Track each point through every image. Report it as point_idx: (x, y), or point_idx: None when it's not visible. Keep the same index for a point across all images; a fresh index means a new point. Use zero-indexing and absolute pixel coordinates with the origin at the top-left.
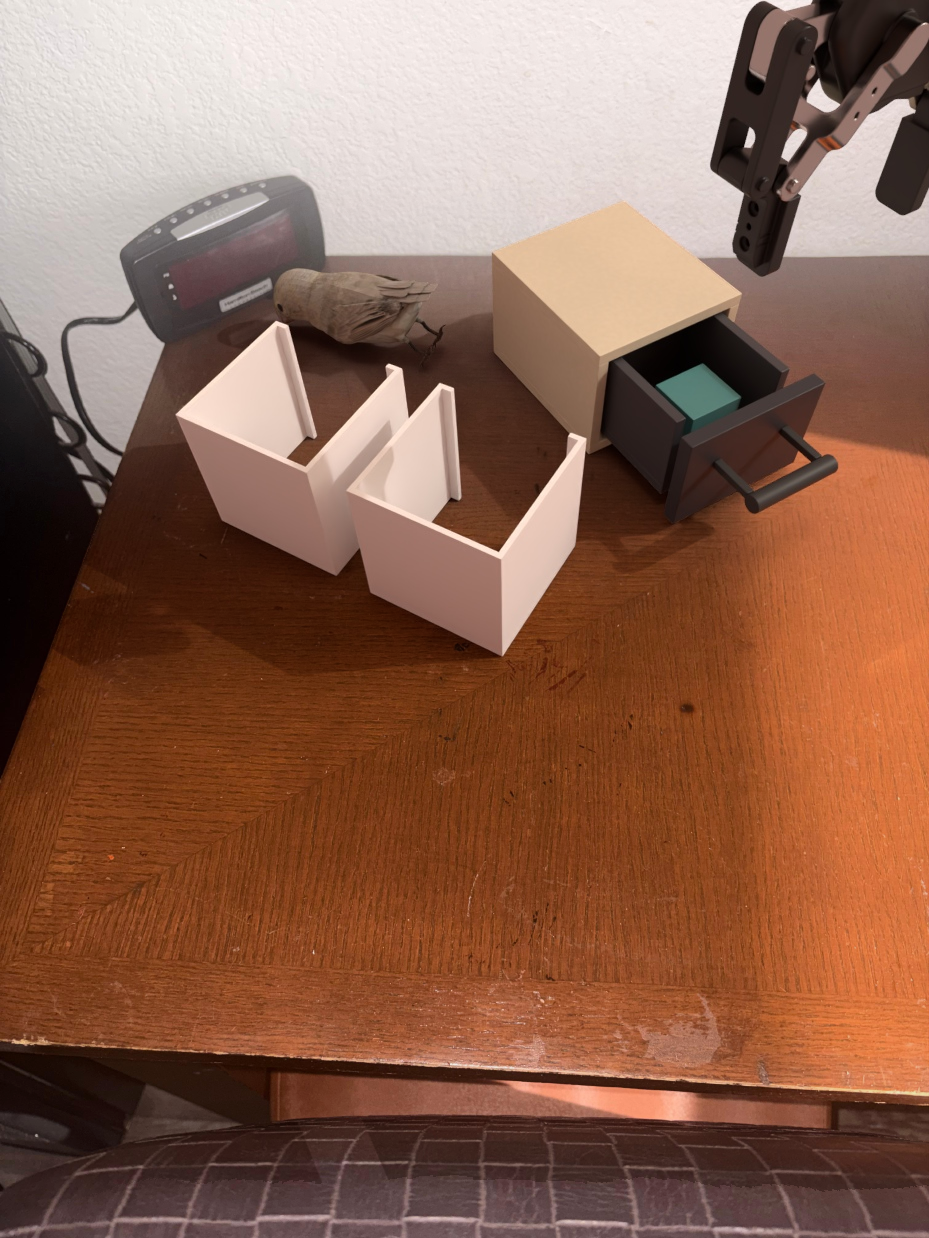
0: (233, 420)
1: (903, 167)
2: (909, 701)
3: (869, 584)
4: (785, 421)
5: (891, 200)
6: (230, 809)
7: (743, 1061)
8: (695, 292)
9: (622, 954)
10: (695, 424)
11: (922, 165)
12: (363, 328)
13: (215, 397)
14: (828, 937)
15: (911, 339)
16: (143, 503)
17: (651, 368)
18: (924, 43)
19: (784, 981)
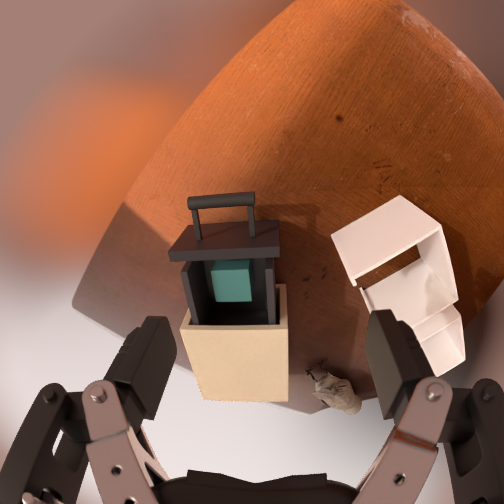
0: (435, 355)
1: (159, 367)
2: (229, 68)
3: (198, 136)
4: (198, 242)
5: (169, 339)
6: (500, 195)
7: (399, 2)
8: (204, 342)
9: (422, 52)
10: (246, 267)
11: (147, 360)
12: (344, 384)
13: (445, 365)
14: (344, 7)
15: (90, 267)
16: None
17: (229, 314)
18: None
19: (371, 8)
